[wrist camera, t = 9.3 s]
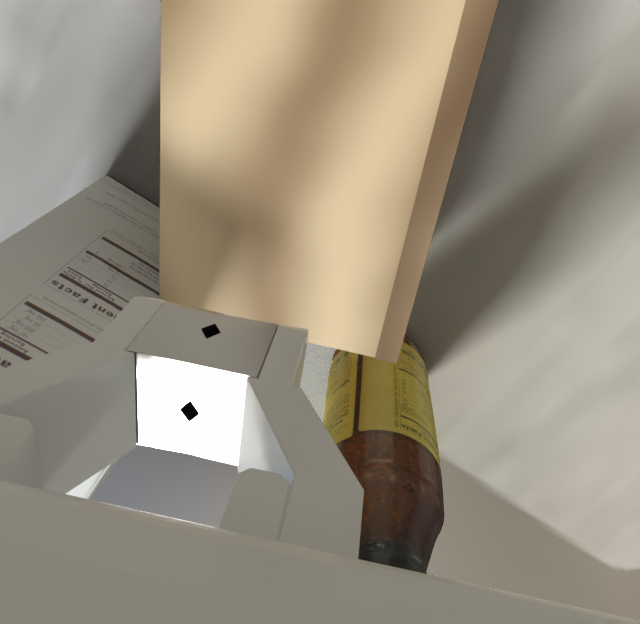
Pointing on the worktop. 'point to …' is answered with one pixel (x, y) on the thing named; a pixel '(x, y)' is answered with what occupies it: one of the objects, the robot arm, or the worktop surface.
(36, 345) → the supplement box
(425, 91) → the lid
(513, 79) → the worktop surface
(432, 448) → the sauce bottle
